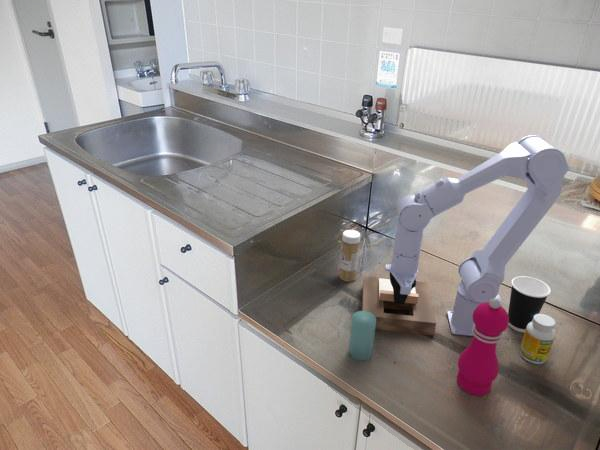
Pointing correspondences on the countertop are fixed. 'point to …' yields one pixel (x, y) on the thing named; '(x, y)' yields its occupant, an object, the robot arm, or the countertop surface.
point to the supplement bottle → (538, 339)
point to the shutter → (388, 294)
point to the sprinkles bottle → (349, 255)
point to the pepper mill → (482, 349)
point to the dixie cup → (526, 301)
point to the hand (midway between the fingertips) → (399, 302)
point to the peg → (362, 335)
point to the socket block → (419, 313)
